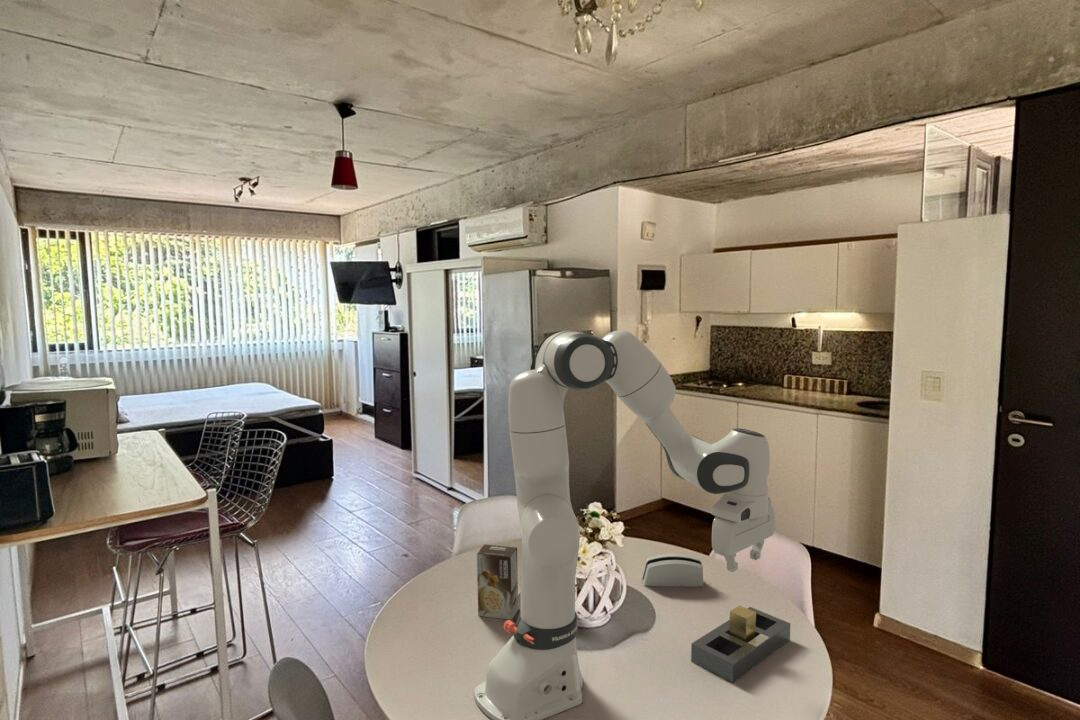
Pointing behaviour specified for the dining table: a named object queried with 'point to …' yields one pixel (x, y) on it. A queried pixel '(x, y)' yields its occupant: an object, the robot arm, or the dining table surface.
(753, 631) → the brass peg
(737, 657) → the grey peg holder
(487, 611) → the grey food box
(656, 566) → the grey rounded block
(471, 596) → the dining table surface
